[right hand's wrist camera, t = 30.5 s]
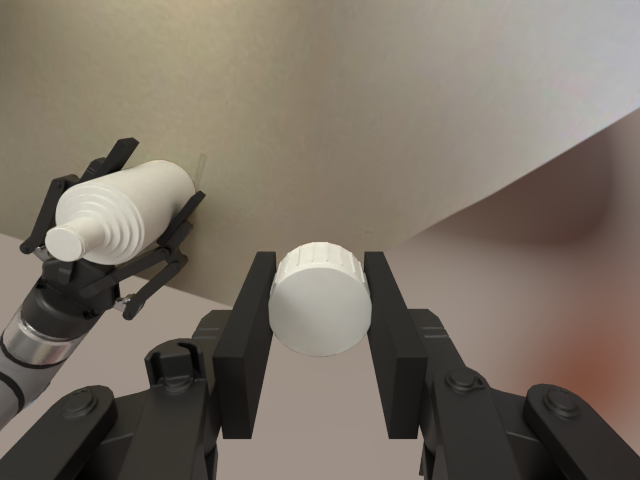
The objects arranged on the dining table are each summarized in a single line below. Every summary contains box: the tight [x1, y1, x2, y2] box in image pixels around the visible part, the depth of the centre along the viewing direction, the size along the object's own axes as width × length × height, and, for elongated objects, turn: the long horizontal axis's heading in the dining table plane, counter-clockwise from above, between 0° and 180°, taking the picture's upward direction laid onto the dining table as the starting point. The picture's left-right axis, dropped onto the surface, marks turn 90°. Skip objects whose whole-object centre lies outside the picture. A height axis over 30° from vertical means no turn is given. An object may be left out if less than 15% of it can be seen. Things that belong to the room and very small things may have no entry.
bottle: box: [45, 160, 195, 265], centre depth 34 cm, size 7×7×18 cm
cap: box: [268, 242, 372, 357], centre depth 14 cm, size 4×4×2 cm
